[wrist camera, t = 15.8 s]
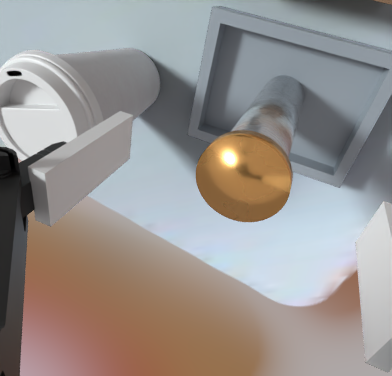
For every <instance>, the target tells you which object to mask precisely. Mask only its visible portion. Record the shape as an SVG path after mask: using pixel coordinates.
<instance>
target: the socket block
mask: <svg viewBox="0 0 392 376" xmlns="http://www.w3.org/2000/svg"><path fill="white" fill-rule="evenodd" d="M373 1H378V2H382V3H386V4H391V5H392V0H373Z"/></svg>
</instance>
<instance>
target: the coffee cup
mask: <svg viewBox="0 0 392 376" xmlns="http://www.w3.org/2000/svg"><path fill="white" fill-rule="evenodd" d="M159 91H160V77H159V73H158V70H157V68H156V66H155V64H154V63H153V61H152V60H151V59H150V58H149V57H148V56H147V55H146V54H145V53H143V52H142V51H140V50H137V49H133V48H123V49H113V50H103V51H92V52H82V53H71V54H60V55H53V54H51V53H48V52H44V51H40V50H27V51H23V52H20V53H18V54H17V55H15V56H14V57H12V58H10V59H9V60H8V61H7V62H6V63H5V64H4V65H3V66H2V67H1V69H0V137H1V139H2V140H3V142H4V143H5V144H6V146H7V147H8V148H10V149H13V150H14V151H15V152H16V153H17V157H18V158H19V159H20V160H22V161H24V160H25V159H27V158H29V157H31V156H32V155H34V154H37V152H39V151H41V150H44V148H46V147H48V146H50V145H51V144H54V143H58V142H62V141H64V142H67V143H68V142H70V141H71V140H73V139H75V138H76V137H78V136H80V135H81V134H83V133H84V132H86V131H88V130H89V129H91V128H93V127H94V126H96V125H98V124H99V123H101V122H103V121H104V120H106V119H108V118H109V117H111V116H113V115H114V114H116V113H118V112H119V111H122V112H125V113H128V114H131V115H133V120H134V119H136V118H137V117H138V116H139V115H140V114H141V113H142V112H144V111H145V110H146V109H147V108H148V107H149V106H150V105H152V104H153V103H154V102H155V100H156V99H157V97H158V95H159ZM133 120H132V121H133Z"/></svg>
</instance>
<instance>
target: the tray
mask: <svg viewBox="0 0 392 376" xmlns="http://www.w3.org/2000/svg"><path fill="white" fill-rule="evenodd" d="M283 75H285V76H290V77H293V78H295V79H296V80H297V81H299V82H300V84H301V85H302V87H303V90H304V102H303V106H302V110H301V113H300V117H299V121H298V125H297V128H296V132H295V136H294V139H293V143H292V147H291V151H290V154H289V160H290V163H291V166H292V172H295V173H298V174H301V175H304V176H307V177H310V178H312V179H315V180H318V181H321V182H324V183H327V184H330V185H333V186H335V187H338V188H340V186H341V185H342V183H343V181H344V179H345V177H346V176H347V174H348V172H349V170H350V168H351V167H352V165H353V163H354V161H355V159H356V158H357V156H358V154H359V152H360V150H361V149H362V147H363V145H364V143H365V141H366V140H367V138H368V136H369V134H370V132H371V131H372V129H373V127H374V125H375V123H376V122H377V120H378V118H379V116H380V114H381V112H382V111H383V109H384V107H385V105H386V103H387V102H388V100H389V98H390V96H391V94H392V51H390V50H387V49H383V48H379V47H375V46H371V45H368V44H364V43H360V42H356V41H352V40H348V39H345V38H341V37H337V36H333V35H329V34H325V33H322V32H318V31H314V30H310V29H306V28H303V27H299V26H295V25H291V24H287V23H283V22H280V21H276V20H272V19H268V18H264V17H261V16H257V15H253V14H249V13H245V12H241V11H238V10H234V9H230V8H226V7H222V6H216V7H212V10H211V15H210V20H209V25H208V30H207V35H206V41H205V46H204V51H203V56H202V61H201V66H200V71H199V76H198V82H197V87H196V92H195V97H194V102H193V107H192V112H191V118H190V123H189V128H188V133H187V135H188V136H191V137H194V138H197V139H200V140H203V141H206V142H208V143H212V142H213V141H214V140H215V139H216V138H217V137H219V136H221V135H223V134H225V133H227V132H231V131H232V129H233V128H234V127H235V125H236V124H237V122H238V121H239V120H240V118H241V117H242V116H243V114H244V113H245V112H246V110H247V109H248V108H249V106H250V105H251V103H252V102H253V101H254V99H255V98H256V97H257V95H258V94H259V93H260V91H261V90H262V89H263V87H264V86H265V85H266V83H267V82H268V81H269V80H271V79H272V78H274V77H277V76H283Z"/></svg>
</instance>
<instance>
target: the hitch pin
mask: <svg viewBox="0 0 392 376" xmlns="http://www.w3.org/2000/svg"><path fill="white" fill-rule="evenodd" d="M303 102H304V90H303V87H302V85H301V84H300V82H299V81H297V80H296V79H295V78H293V77H290V76H285V75H283V76H277V77H274V78H272V79H271V80H269V81H268V82H267V83H266V85H265V86H264V87H263V89H262V90H261V91H260V93H259V94H258V95H257V97H256V98H255V99H254V101H253V102H252V103H251V105H250V106H249V108H248V109H247V110H246V112H245V113H244V114H243V116H242V117H241V118H240V120H239V121H238V122H237V124H236V125H235V127H234V128H233V129H232V131H231V132H227V133H225V134H223V135H221V136H219V137H217V138H216V139H215V140H214V141H213V142H212V143H211V144H210V145H209V146H208V147H207V149H206V150H205V151H204V152H203V154H202V155H201V157H200V159H199V161H198V164H197V168H196V182H197V186H198V189H199V191H200V193H201V195H202V197H203V198H204V200H205V201H206V202H207V203H208V205H209V206H210V207H211V208H213V209H214V210H215V211H216V212H218V213H219V214H221V215H223V216H225V217H227V218H229V219H232V220H236V221H241V222H257V221H261V220H265V219H267V218H269V217H271V216H273V215H275V214H276V213H277V212H278V211H280V210H281V209H282V207H283V206H284V205H285V203H286V201H287V199H288V197H289V194H290V189H291V184H292V178H293V172H292V166H291V163H290V160H289V154H290V151H291V147H292V143H293V139H294V136H295V132H296V128H297V125H298V121H299V117H300V113H301V110H302V106H303Z"/></svg>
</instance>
